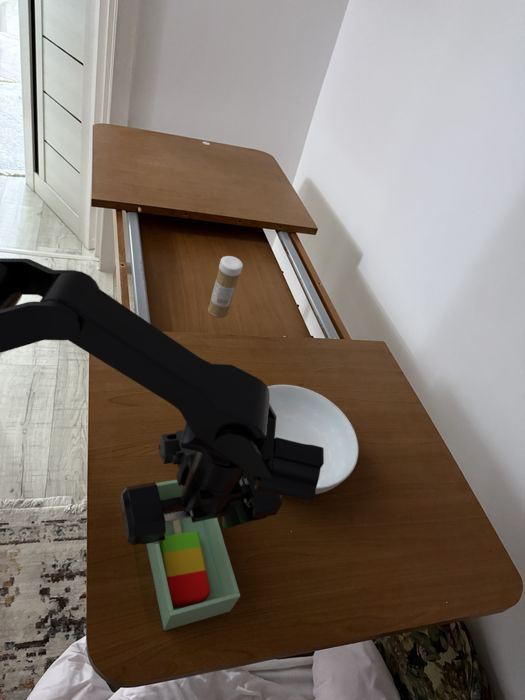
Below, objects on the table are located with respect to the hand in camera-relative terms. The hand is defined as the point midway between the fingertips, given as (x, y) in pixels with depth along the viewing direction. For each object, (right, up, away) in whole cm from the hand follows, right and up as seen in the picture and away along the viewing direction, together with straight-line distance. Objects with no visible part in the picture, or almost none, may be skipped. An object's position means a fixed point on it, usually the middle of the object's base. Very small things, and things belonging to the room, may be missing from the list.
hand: (191, 532), depth 66 cm
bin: (-2, -5, +5) cm, 7 cm away
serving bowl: (+14, +5, +22) cm, 27 cm away
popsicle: (-2, -4, +5) cm, 7 cm away
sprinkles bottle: (-1, +32, +44) cm, 54 cm away
